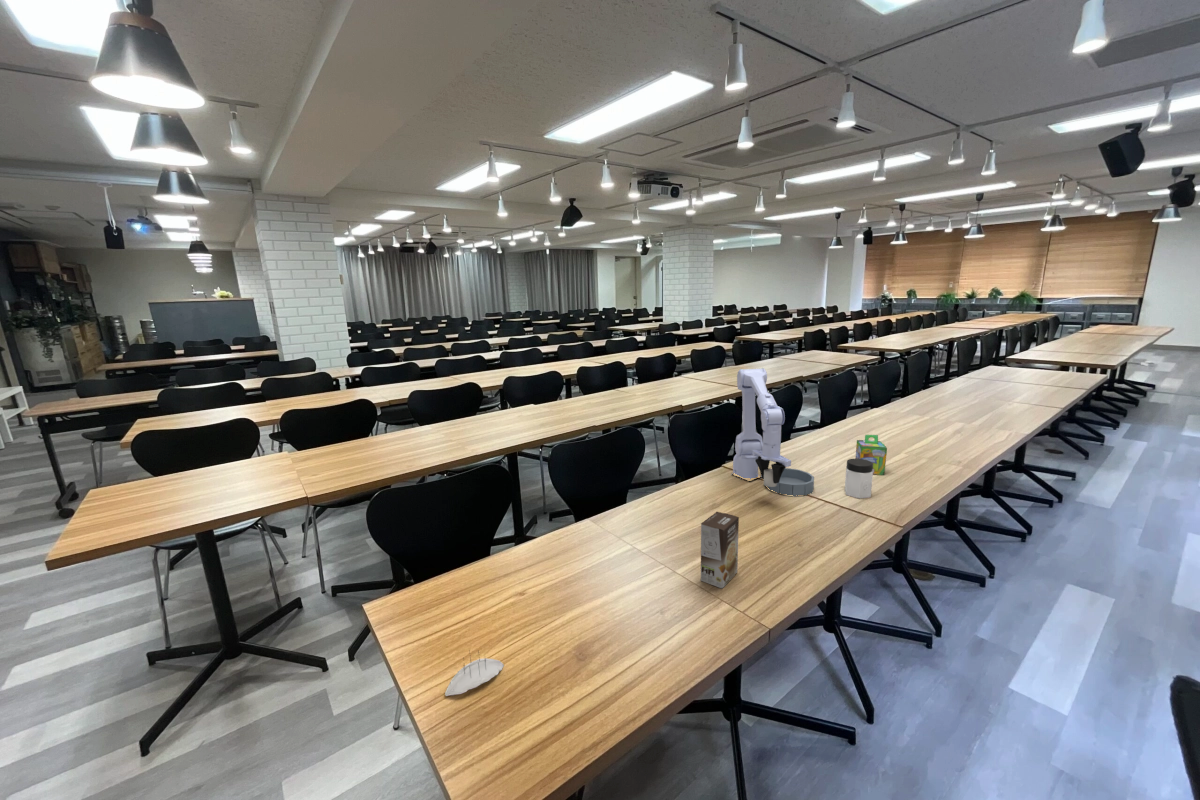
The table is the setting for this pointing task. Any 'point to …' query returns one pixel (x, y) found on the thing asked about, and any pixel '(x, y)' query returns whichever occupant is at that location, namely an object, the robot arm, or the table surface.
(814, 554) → the table surface
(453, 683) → the pincushion
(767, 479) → the pebble
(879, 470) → the chalk box
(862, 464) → the jar
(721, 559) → the coffee box
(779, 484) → the bowl
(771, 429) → the robot arm
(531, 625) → the table surface
